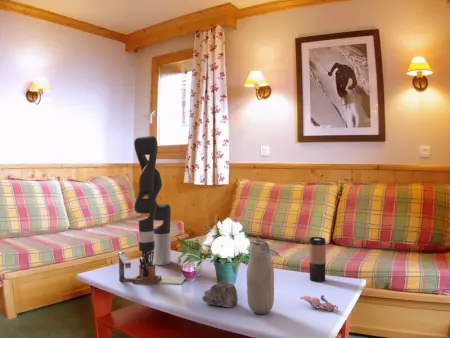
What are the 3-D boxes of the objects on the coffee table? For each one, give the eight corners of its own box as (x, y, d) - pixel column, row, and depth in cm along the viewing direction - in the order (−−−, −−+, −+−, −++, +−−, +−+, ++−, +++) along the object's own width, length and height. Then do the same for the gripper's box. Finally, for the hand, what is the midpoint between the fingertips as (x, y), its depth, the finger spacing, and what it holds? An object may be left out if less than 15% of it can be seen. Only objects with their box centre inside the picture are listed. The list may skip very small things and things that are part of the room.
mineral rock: (200, 303, 167) (200, 279, 166) (220, 297, 174) (219, 273, 174) (222, 312, 157) (221, 286, 157) (241, 305, 165) (241, 280, 164)
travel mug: (328, 281, 193) (328, 239, 192) (315, 283, 190) (315, 240, 189) (319, 276, 200) (319, 236, 199) (306, 278, 197) (306, 237, 197)
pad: (164, 277, 201) (164, 276, 201) (186, 278, 200) (186, 277, 200) (158, 283, 193) (158, 282, 193) (181, 284, 191) (181, 283, 191)
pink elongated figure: (338, 312, 160) (302, 299, 167) (340, 297, 159) (304, 285, 166) (333, 317, 154) (296, 304, 162) (336, 303, 154) (299, 290, 161)
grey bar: (124, 256, 200) (124, 251, 200) (131, 267, 181) (131, 261, 181) (117, 257, 199) (117, 252, 199) (124, 268, 180) (124, 262, 180)
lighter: (156, 279, 198) (156, 259, 197) (154, 282, 194) (154, 261, 194) (140, 279, 198) (139, 259, 198) (138, 281, 195) (137, 261, 194)
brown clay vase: (278, 311, 158) (278, 239, 156) (262, 319, 150) (262, 244, 149) (258, 305, 164) (257, 236, 163) (242, 313, 156) (241, 240, 155)
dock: (122, 278, 202) (122, 255, 201) (161, 279, 199) (161, 256, 198) (116, 282, 195) (115, 259, 195) (156, 284, 192) (156, 260, 191)
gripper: (144, 236, 203) (145, 270, 204) (133, 243, 189) (134, 279, 190) (158, 237, 202) (159, 271, 202) (148, 243, 188) (149, 280, 189)
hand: (147, 275), depth 196 cm, fingers closed on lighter, 3 cm apart
